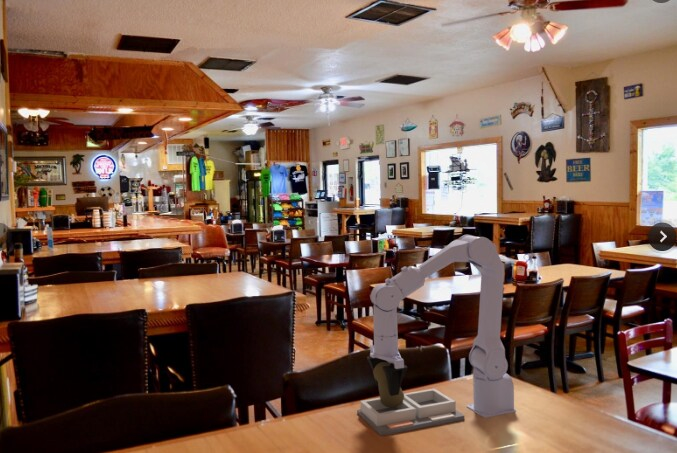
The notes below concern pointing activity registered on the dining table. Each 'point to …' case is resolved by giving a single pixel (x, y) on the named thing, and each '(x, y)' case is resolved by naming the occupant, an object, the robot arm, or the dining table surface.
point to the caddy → (410, 412)
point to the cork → (386, 387)
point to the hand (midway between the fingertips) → (387, 389)
